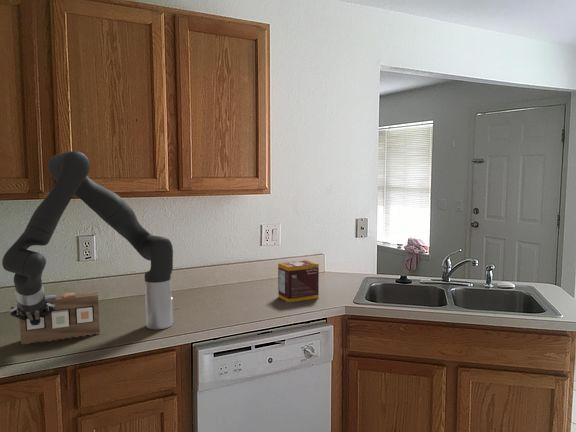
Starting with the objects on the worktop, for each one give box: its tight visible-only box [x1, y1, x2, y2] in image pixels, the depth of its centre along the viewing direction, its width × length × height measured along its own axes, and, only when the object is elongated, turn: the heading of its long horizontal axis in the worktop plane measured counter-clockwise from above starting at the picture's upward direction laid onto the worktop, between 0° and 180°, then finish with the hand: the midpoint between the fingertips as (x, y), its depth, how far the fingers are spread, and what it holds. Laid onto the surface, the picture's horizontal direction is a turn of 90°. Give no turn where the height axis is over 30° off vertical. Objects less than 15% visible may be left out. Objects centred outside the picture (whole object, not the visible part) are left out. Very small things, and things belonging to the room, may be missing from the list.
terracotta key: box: [76, 306, 93, 323], centre depth 161 cm, size 5×5×5 cm
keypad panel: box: [19, 291, 101, 345], centre depth 159 cm, size 6×24×15 cm, turn 115°
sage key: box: [52, 309, 69, 328], centre depth 156 cm, size 5×5×5 cm
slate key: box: [27, 317, 45, 330], centre depth 155 cm, size 5×5×5 cm
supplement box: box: [277, 259, 320, 303], centre depth 206 cm, size 10×15×16 cm
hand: (35, 322), depth 152 cm, fingers closed
